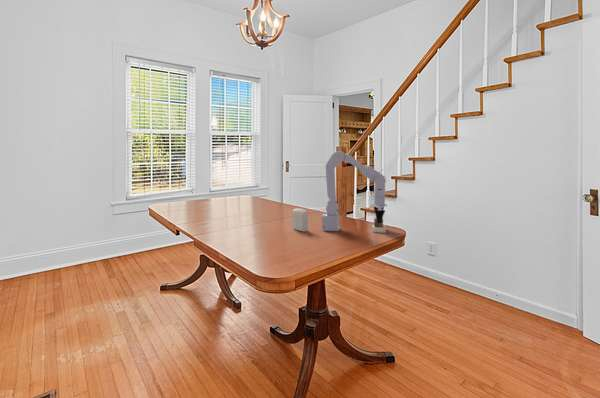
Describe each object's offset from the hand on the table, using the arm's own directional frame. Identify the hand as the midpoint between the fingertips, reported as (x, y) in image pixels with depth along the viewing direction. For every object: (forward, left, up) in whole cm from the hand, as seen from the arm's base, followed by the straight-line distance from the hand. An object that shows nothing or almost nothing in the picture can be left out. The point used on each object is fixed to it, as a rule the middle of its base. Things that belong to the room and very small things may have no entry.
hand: (378, 221), depth 178 cm
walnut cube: (0, 0, -3) cm, 3 cm away
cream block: (0, 0, -6) cm, 6 cm away
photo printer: (-43, -3, -6) cm, 44 cm away
